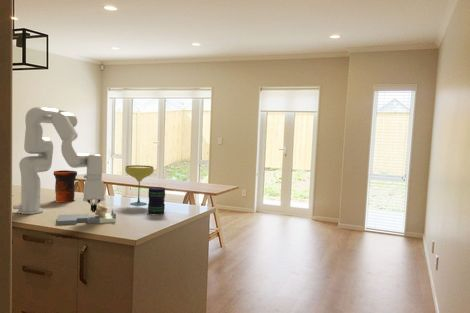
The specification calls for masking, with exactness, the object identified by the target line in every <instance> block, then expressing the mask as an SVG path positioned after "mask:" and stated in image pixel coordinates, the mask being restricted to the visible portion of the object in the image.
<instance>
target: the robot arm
mask: <svg viewBox="0 0 470 313" xmlns="http://www.w3.org/2000/svg"><path fill="white" fill-rule="evenodd" d="M24 123H25V131H24V133H25V134H24V145H23V147H24V148H23V149H24V151H25V153H27V154H30V155H28V156H24V157H23V158H21V159H20V161H19V163H18V165H19V166H18V167H19V171H20V181H21V182H20V190H21V191H20V203H19V204H18V205H15V204H14V205H13V209H12V210H17V213H18V214H20V213H21V215H34V214H40V213H42V212H44V209H43V208H41V179H40V176H39V174H38V173H43V172H48V171H49V170H50V169H51V168H52V164H53V155H54V144H53V142H52V140H51V138H49V137H46V136H43V133H44V132H43V131H44V130H43V127H42V126H43V125H42V124H51V125H52V126H53V127H54V129H55V131H56V133H57V134H58V136H59V138H60V140H61V148H60V149H61V151H60V152H61V154H62V157H63V158H64V160H65V162H66V164H67V165H68V166H69V167H71V168H72V169H79V168H86V174H85V175H83V179H85V180H84V186H83V198H82V201H83V202H86V203H88V204H89V205H90V211H91V213H96V210H97V208H98V205H99V204H100V202H104V201H105V184H104V183H105V182H104V180H103V156H102V155H101V154H99V153H98V154H97V153H95V154H94V153H93V154H92V153H88V152H85V153H84V152H83V153H82V152H77V153H76V151H75V149H74V147H73V142H74V141H75V140H77V138H78V132H77V131H76V129H75V127H76V126H77V124H78V118H77V116H76V115H75V114H74V113H71V112H68V111H64V110H61V109H59V108H58V109H57V108H50V107H44V106H43V107H40V106H35V107H31V108H30V109H29V110H28V111H27V112H26V114H25V122H24ZM93 200H95V201H94V202H93Z"/></svg>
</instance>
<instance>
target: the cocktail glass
mask: <svg viewBox="0 0 470 313" xmlns="http://www.w3.org/2000/svg"><path fill="white" fill-rule="evenodd" d="M125 173H126V174H127V175H129V176H130V177H132V178H134V179H136V180H135V181H137V182H138V192H137V194H138V195H137V201H134V202H130V203H129V205H130V206H135V207H136V206H137V207H138V206H142V207H143V206H146V205H148V204H147V202H143V201H141V200H140V189H141V188H140V186H141V184H140V183H141V182H142V181H143V179H145V178H147V177H149V176H151V175H152V174H153V173H154V166H151V165H138V164H137V165H135V164H133V165H126V166H125Z"/></svg>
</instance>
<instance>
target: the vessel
mask: <svg viewBox="0 0 470 313" xmlns="http://www.w3.org/2000/svg"><path fill="white" fill-rule="evenodd" d="M53 176H54V179H55V184H54V185H55V186H54V191H55V192H54V193H55V200H54V202H56V203H59V202H67V203H73V202H76V201H75V200H76V199H75V194H76V193H75V192H76V191H75V190H76V182H75V181H77V180H76V178H77V176H78V171H76V170H69V169H68V170H65V169H63V170H54V171H53Z"/></svg>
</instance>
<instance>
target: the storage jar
mask: <svg viewBox="0 0 470 313" xmlns="http://www.w3.org/2000/svg"><path fill="white" fill-rule="evenodd" d="M147 193H148V194H147V195H148V197H147V198H148V204H147V214H148V213H149V215H153V214H159V215H164V214H165V206H166V205H165V197H166V188H165V187H162V186H150V187H148V192H147ZM163 213H164V214H163Z"/></svg>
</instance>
